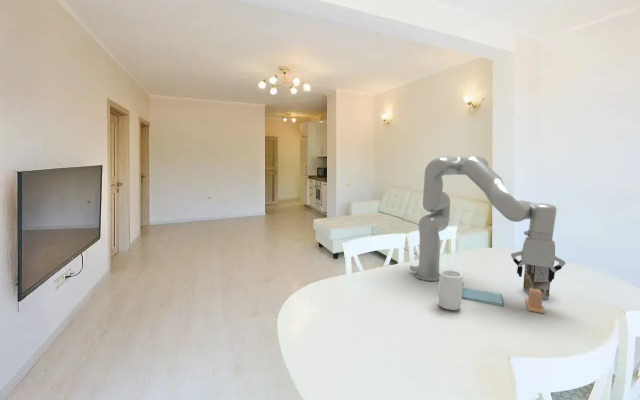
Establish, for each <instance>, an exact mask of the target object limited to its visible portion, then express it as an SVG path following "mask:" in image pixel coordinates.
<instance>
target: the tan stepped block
mask: <svg viewBox="0 0 640 400" xmlns="http://www.w3.org/2000/svg"><path fill="white" fill-rule="evenodd" d="M542 296H543V295H542V292H541V290H538V289H532V288H529V294H528V298H525V299H524V301H525V304H526V308H527V310H528V311H529V312H533V313H540V314H545V309H544V307H543V299H542Z"/></svg>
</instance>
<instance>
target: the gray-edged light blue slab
mask: <svg viewBox="0 0 640 400" xmlns="http://www.w3.org/2000/svg"><path fill="white" fill-rule="evenodd" d="M503 298H504V297H503V294H502V293H497V292H491V291H490V292H489V291H484V290H479V289H472V288H467V287H463V288H462V300H465V301H466V300H467V301H472V302H477V303H483V304H489V305H494V306H498V307H504V299H503Z"/></svg>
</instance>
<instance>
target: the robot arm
mask: <svg viewBox="0 0 640 400" xmlns="http://www.w3.org/2000/svg"><path fill="white" fill-rule="evenodd" d="M450 175H451V176H453V175H461V176H466V177H468V178H469V179H470V180H471V181H472V182H473V183H474V184H475V185H476V186H477V187H478V188H479V189H480V190H481V191H483V193H484V194H485V197H486V198H487V200H488V201H489V202H490V204H491V205H492V206H493V207H494V208H495V209H496V210H497V211H498V212H499V213H500V214H501V215H502V216H503V217H504V218H506V219H507V220H509V221H510V222H514V223H519V222H521V221H524V220H529V226H528V227H529V228H528V230H527V231H526V230H525V231H523V234H524V235H525V236H526V237H525V239H524V242H523V245H522V250H520V251H515V252H512V253H511V254H510V257H511V258H512V260H513V262H514V263H515V265H517V268H516V269H517V270H516V274H517V275H518V277H519V278H521V277H522V276H523V266H525V264H529V265H535V266H541V267H549V268H550V270H549V274H548V280H549V282H550V283H552V281H553V280H555V274H556V273H557V272H558V271H560V270H561V269H562V268H563V267H564V266H565V265H566V261H565V260H564V259H561V258H559V257H558V256H556V243H555V240H553V235H554V230H555V222H556V215H557V207H556V206H555V205H554V204H549V203H538V202H537V203H536V202H533V201H532V202H531V201H527V200H517V199H516V198H515V197H513V195H512V194H511V193H509V192H508V190H507V189H506V187H505V185H504V181H503V178H502V177H501V176H499V174H498V173H496V172H495V171H494V170H493V169H492V168H490V166H489V161H488V160H487V159H486V158H485V157H483V156H480V155H470V156H440V157H437V158H434V159H432V160H431V161H430V162H428V164H427V165H426V167H425V169H424V175H423V177H424V181H423V182H424V184H423V192H422V193H423V195H422V207H423V209H424V210H425V211H426V212H429V214H426V215H423V216H422V217H421V218H420V219H419V221H418V232H419V235H418V236H419V249H418V250H419V253H418V254H419V255H418V265H417V266H414V265H410V266H409V269H410V270H411V272H415V275H416V276H417V277H418V278H417V277H416V276H415V277H416V278H417V279H419V278H420V280H421V279H422V280H421V281H425V280H426V282H438V281H439V278H440V258H441V257H440V253H441V238H440V233H441V232H442V231H445V230H446V229H447V227H448V226H449V221H450V213H451V212H450V211H451V199H450V196H449V195H448V193H446V192H444V191H443V190H444V189H443V187H444V183H443V182H444V181H443V176H450ZM439 232H440V233H439ZM519 256H521V257H520V260H519V259H517V257H519ZM555 262H558V264H557V265H555Z"/></svg>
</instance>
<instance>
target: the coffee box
mask: <svg viewBox="0 0 640 400" xmlns="http://www.w3.org/2000/svg"><path fill="white" fill-rule="evenodd" d="M549 270H550V268H549V267H541V266H535V265H529V264H524V272H523V274H524V275H523V286H522V287H523V288H522V290H523V291H524V292H525V294H528V295H529V288H532V289H538V290H541V292H542V295H543V296H542V300H549V298H550V289H551V282H549V280H548V274H549Z"/></svg>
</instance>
